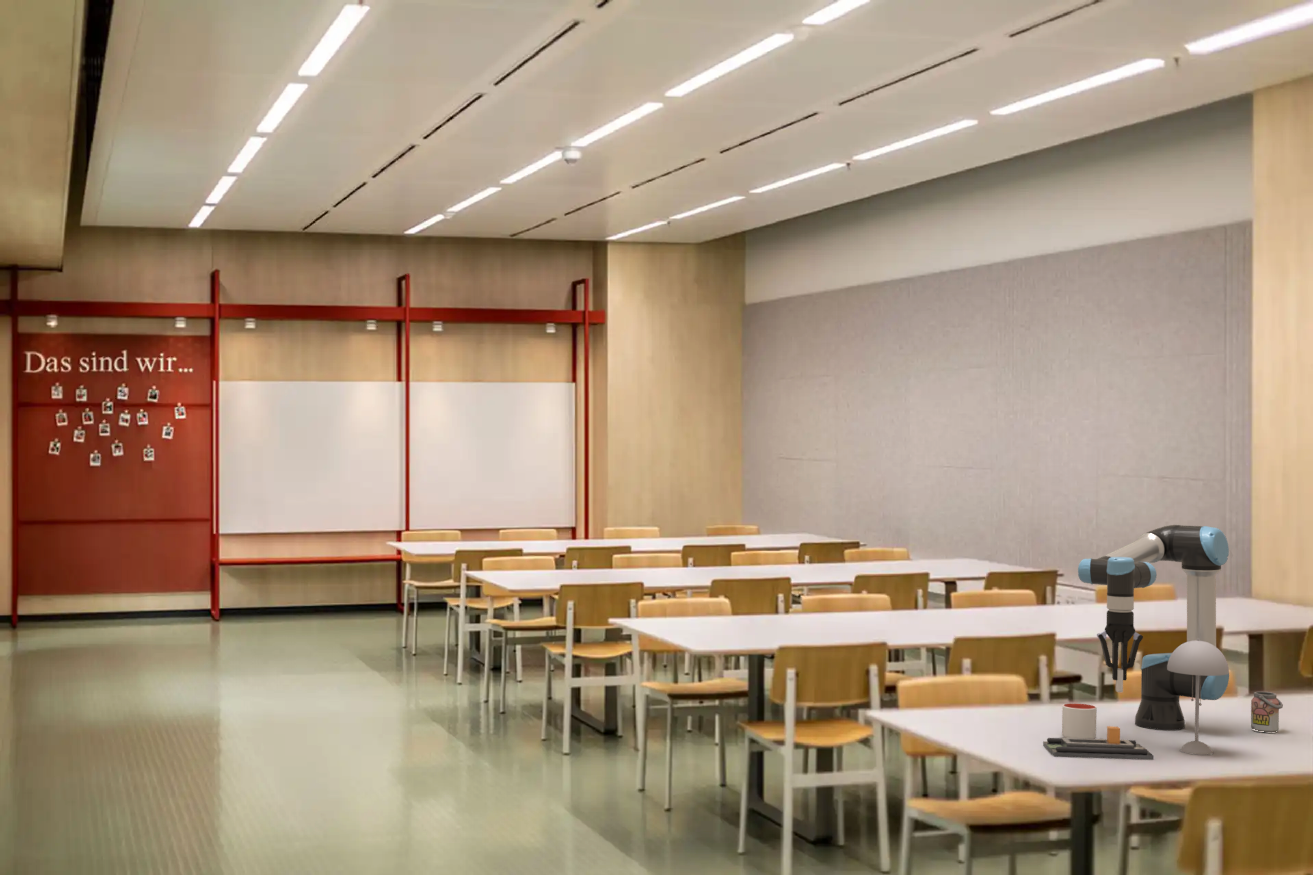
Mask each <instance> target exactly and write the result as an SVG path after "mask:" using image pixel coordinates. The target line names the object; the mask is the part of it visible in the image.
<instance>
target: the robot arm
mask: <svg viewBox="0 0 1313 875" xmlns="http://www.w3.org/2000/svg"><path fill="white" fill-rule="evenodd" d="M1229 552H1230V548H1229V542H1228V539H1227V537H1226V534H1224V532H1223V531H1222V530H1221V529H1219V528H1218V527H1215V526H1214V527H1211V526H1207V525H1181V524H1170V525H1166V526H1165V525H1164V526H1161V527H1158V528H1155V529H1152V530H1150V531H1147V532H1144V533H1142V534H1141V535H1140V536H1138V538H1137V539H1136V541H1133V542H1131V543H1128V544H1127V545H1125V546H1122V547H1120V548H1117V549H1116V550H1114V551H1112V552H1109V553H1107V554H1105V555H1103V556H1101V557H1099V558H1093V557H1092V558H1083V559H1082V560H1081V561H1080V562H1079V564H1078V567H1077V575H1078V579H1079V580H1080V582H1081V583H1084V584H1090V585H1098V586H1099V585H1102V586H1106V608H1107V611H1106V626H1105V628H1104V630H1102V632H1099V633H1097V634H1096V637H1097V639H1098V640H1099V642H1100V646H1101V649H1102V654H1103V658H1104V661H1105V662H1104V663H1105V666H1107V667H1109V668H1111V670H1112V671H1111V678H1112V680H1113V681H1115V692H1117V693H1123V692H1124V681H1127V679H1128V678H1127V676H1128V675H1127V674H1128V673H1127V670H1128V669H1130V668H1133V667H1135V662H1136V659H1137V658H1136V657H1137V653H1138V650H1139V646H1140V643H1141V642H1142V640H1143V639H1144V636H1143V635H1142V634H1139V633H1138V632H1137V631H1136V628H1135V626H1134V625H1135V624H1134V623H1135V622H1134V618H1135V617H1134V615H1135V614H1134V612H1133V611H1134V609H1135V608H1134V607H1135V603H1134V601H1135V599H1134V598H1135V592H1134V591H1135V589H1140V588H1141V589H1144V588H1147V587H1150V586H1152V585H1153V584H1154V583H1155V582H1156V579H1157V570H1156V568H1155V566H1154V565H1153V563H1157V562H1160V561H1162V562H1163V561H1164V562H1165V561H1166V562H1177V563H1181V570H1182V571H1183V572H1184V573H1185V574H1186V642H1189V641H1197V639H1200V641H1204V642H1208V643H1210V644H1212V645H1214V646H1215V647H1216V648H1217V589H1216V588H1217V578H1216V576H1217V574H1219V573H1220V572H1221V571H1222V566H1224V565H1225V564H1226V563H1227V562H1228V557H1229V554H1230V553H1229ZM1151 563H1152V564H1151ZM1107 636H1108V638H1109V640H1110V641H1111V646H1112V648H1111V651H1112V652H1111V656H1110V652H1109V651H1110V650H1109V648H1108V643H1107ZM1132 637H1133V639H1132V640H1133V641H1132V643H1131V644H1132V645H1131V648H1130V653H1129V657H1128V646H1129V641H1130V640H1131V638H1132ZM1119 643H1120V645H1121V647H1120V649H1121V651H1120V653H1121V654H1120V668H1119V646H1120V645H1119ZM1172 653H1173V652H1165V653H1164V652H1163V653H1152V654H1147V655H1144V656H1143V657H1142V660H1141V667H1140V672H1141V674H1140V675H1141V677H1140V678H1141V684H1140V686H1141V688H1140V692H1141V693H1140V694H1141V695H1140V702H1139V705H1138V708H1137V711H1136V714H1135V717H1134V724H1135V726H1138V727H1141V728H1145V729H1150V730H1151V729H1153V730H1160V731H1161V730H1163V731H1177V730H1182V729H1185V727H1186V724H1185V723H1186V720H1185V717H1184V714H1183V710H1182V707H1181V704H1180V697H1184V698H1186V697H1187V698H1192V686H1193V699H1195V696H1196V675H1189V674H1181V673H1175V672H1171V671H1169V670H1167V665H1168V661H1169V658H1170V656H1171V654H1172ZM1192 678H1193V684H1192ZM1229 679H1230V673H1229V674H1227V675H1219V676H1203V675H1201V681H1200V680H1199V700H1200V683H1201V700H1203V701H1206V700H1207V701H1217V700H1219V699H1221V698H1222V696H1224V694H1225V692H1226V690H1227V689H1228V688H1227V687H1228V685H1229V682H1230V681H1229Z"/></svg>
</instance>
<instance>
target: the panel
mask: <svg viewBox="0 0 1313 875" xmlns="http://www.w3.org/2000/svg"><path fill="white" fill-rule="evenodd" d="M1060 738H1061V743H1049V742H1047V740H1045V741H1044V740H1043V742H1042V746H1043V747H1044V748H1045V749H1046V750H1047V751H1048V753H1049V754H1051V756H1053V757H1054V758H1055V757H1056V758H1085V759H1086V758H1087V759H1089V758H1090V759H1114V760H1115V759H1119V760H1120V759H1121V760H1145V761H1146V760H1151V761H1153V760H1155V759H1154V754H1153V753H1151V752H1150V751H1149V750H1148V749H1147V751H1148V754H1121V753H1088V752H1058V751H1056V747H1087V748H1120V749H1146V747H1144V746H1142V745H1141V744H1138V743H1136V745H1134V744H1132V743H1131V742H1130V741H1129V739H1120V743H1121V744H1118V743H1105V741H1107V738H1095V739H1082V738H1064V737H1060Z"/></svg>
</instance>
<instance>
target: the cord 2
mask: <svg viewBox="0 0 1313 875" xmlns="http://www.w3.org/2000/svg"><path fill="white" fill-rule="evenodd" d="M1147 750H1148V749H1120V748H1087V747H1056V751H1058V752H1088V753H1121V754H1148V751H1149V750H1148V751H1147Z"/></svg>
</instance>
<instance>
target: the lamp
mask: <svg viewBox="0 0 1313 875" xmlns="http://www.w3.org/2000/svg"><path fill="white" fill-rule="evenodd" d="M1171 653H1172V654H1171V656H1170V658H1169V661H1168V665H1167V670H1169V671H1171V672H1175V673H1181V674H1189V675H1196V696H1195V698H1193V686H1192V697H1191V699H1190V700H1191V702H1194V701H1195V702H1194V703H1195V704H1194V706H1195V710H1194V714H1195V715H1194V740H1192V741H1188V742H1186V743H1184V744H1183V745H1182V746H1181V747H1180V749H1179V751H1180V752H1181V753H1185V754H1189V755H1190V754H1191V755H1198V756H1199V755H1200V756H1206V755H1213V754H1214V751H1213V749H1211V747H1210V746H1209V745H1208V744H1206V743H1205V742H1203V741H1199V738H1200V737H1199V736H1200V735H1199V731H1200V730H1199V729H1200V727H1199V726H1200V725H1199V724H1200V722H1199V721H1200V706H1202V703H1201V702H1202V701H1201V700H1202V699H1201V683H1200V699H1199V680H1200V681H1201V675H1203V676H1219V675H1227V674H1229V675H1230V668H1229V664H1228V661H1227V659H1226V656H1225V655H1224V654H1223V652H1222V650H1220V649H1219V648H1218V647H1217V646H1216V647H1215V646H1214V645H1212V644H1210V643H1208V642H1204V641H1200V639H1197V641H1189V642H1187V641H1186V642H1183V643H1182V644H1180V645H1179V646H1177V647H1176V648H1175V649H1174V650H1173V652H1171ZM1192 684H1193V678H1192ZM1212 753H1213V754H1212Z"/></svg>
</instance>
